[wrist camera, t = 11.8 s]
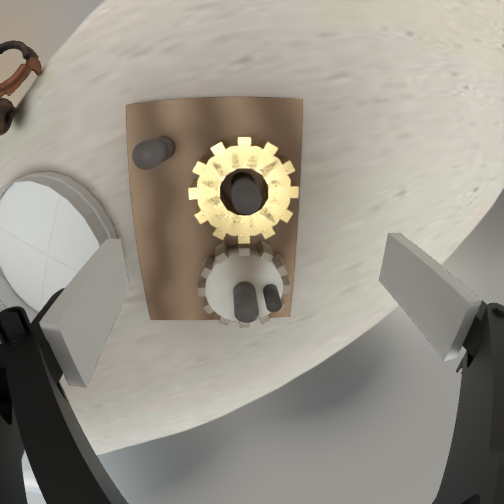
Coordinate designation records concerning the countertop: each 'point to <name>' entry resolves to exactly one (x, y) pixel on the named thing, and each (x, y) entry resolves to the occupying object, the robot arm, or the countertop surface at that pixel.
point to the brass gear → (221, 209)
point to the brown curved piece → (15, 81)
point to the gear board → (201, 235)
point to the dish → (46, 237)
